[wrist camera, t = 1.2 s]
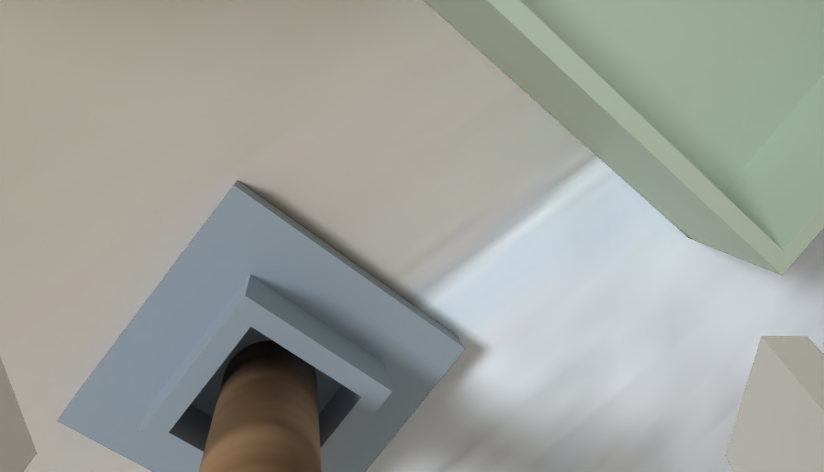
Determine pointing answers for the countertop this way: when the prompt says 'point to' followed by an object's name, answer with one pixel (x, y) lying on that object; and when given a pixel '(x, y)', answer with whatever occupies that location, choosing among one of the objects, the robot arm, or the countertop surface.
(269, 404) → the strut
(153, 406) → the socket stand
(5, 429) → the robot arm
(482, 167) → the countertop surface
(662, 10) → the bin
